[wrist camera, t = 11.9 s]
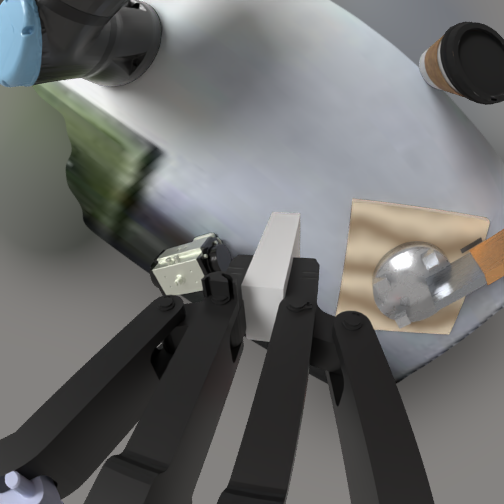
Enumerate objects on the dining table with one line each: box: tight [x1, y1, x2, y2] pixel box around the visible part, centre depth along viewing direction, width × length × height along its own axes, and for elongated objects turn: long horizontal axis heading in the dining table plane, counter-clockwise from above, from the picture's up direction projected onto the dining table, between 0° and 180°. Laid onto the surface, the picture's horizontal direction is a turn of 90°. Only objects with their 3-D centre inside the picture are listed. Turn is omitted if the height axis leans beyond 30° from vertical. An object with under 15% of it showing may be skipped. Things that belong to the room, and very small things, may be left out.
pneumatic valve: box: [149, 233, 232, 296], centre depth 46 cm, size 6×12×12 cm, turn 112°
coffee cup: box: [419, 22, 504, 105], centre depth 23 cm, size 8×8×15 cm
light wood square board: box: [335, 199, 490, 334], centre depth 44 cm, size 22×22×2 cm
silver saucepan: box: [372, 229, 504, 328], centre depth 37 cm, size 24×13×8 cm, turn 129°
